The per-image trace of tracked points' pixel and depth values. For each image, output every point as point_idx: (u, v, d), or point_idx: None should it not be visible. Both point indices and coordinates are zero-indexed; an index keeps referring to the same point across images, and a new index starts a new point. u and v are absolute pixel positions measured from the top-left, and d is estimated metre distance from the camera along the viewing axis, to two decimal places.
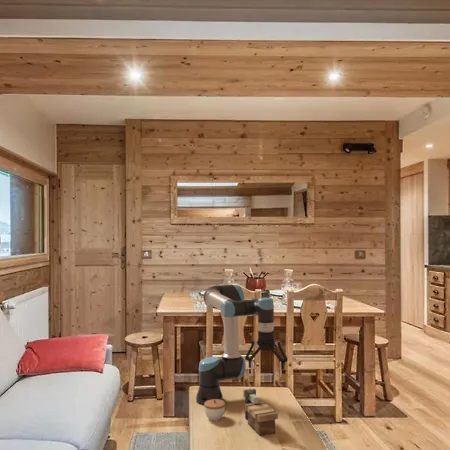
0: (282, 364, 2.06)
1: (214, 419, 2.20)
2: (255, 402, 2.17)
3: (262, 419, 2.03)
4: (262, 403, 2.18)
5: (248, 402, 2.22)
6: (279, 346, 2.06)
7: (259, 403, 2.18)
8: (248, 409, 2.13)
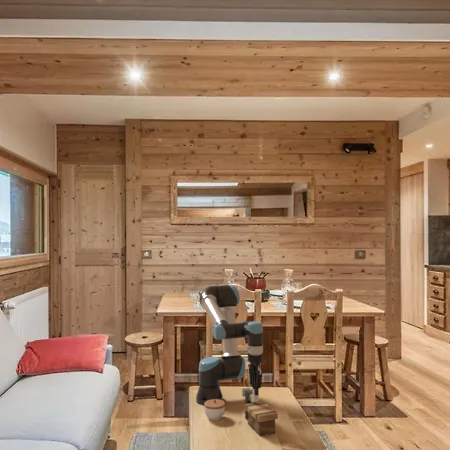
0: (255, 390, 2.16)
1: (214, 419, 2.20)
2: None
3: (262, 419, 2.03)
4: (262, 403, 2.18)
5: (248, 402, 2.22)
6: (257, 374, 2.13)
7: (259, 403, 2.18)
8: (248, 409, 2.13)
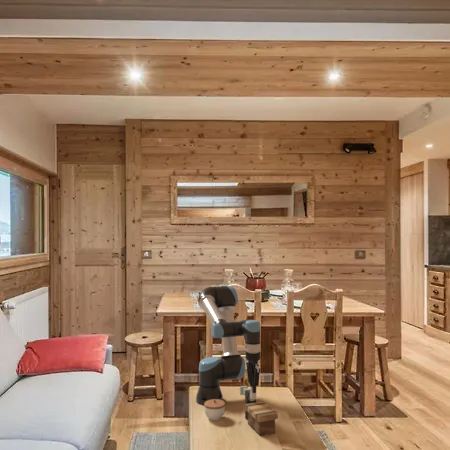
0: (253, 388, 2.19)
1: (214, 419, 2.20)
2: (252, 399, 2.21)
3: (262, 419, 2.03)
4: (262, 403, 2.18)
5: (248, 402, 2.22)
6: (254, 372, 2.15)
7: (259, 403, 2.18)
8: (248, 409, 2.13)
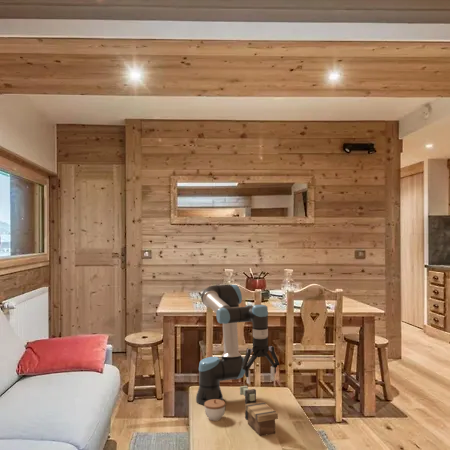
0: (274, 368, 2.14)
1: (214, 419, 2.20)
2: (252, 399, 2.21)
3: (262, 419, 2.03)
4: (262, 403, 2.18)
5: (248, 402, 2.22)
6: (273, 351, 2.13)
7: (259, 403, 2.18)
8: (248, 409, 2.13)
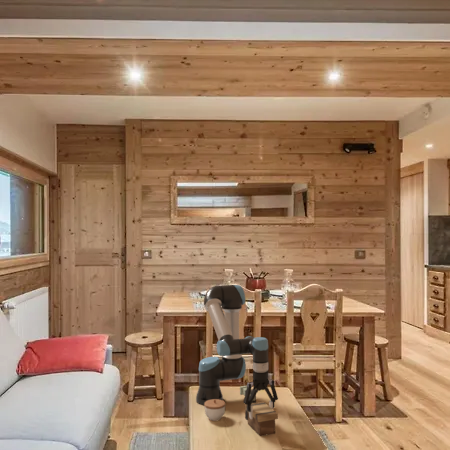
0: (273, 403, 2.13)
1: (214, 419, 2.20)
2: None
3: (262, 419, 2.03)
4: (262, 403, 2.18)
5: None
6: (273, 385, 2.13)
7: (259, 403, 2.18)
8: None
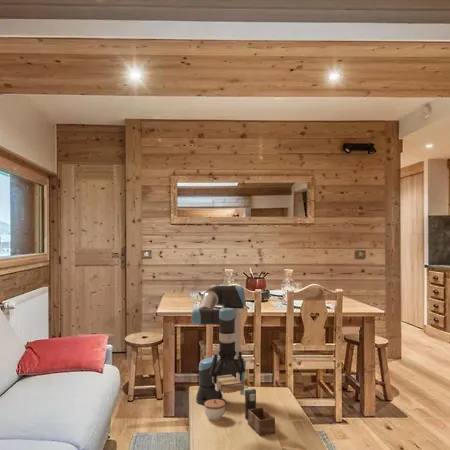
0: (240, 375, 2.08)
1: (214, 419, 2.20)
2: (252, 399, 2.21)
3: (227, 390, 1.98)
4: (230, 376, 2.13)
5: (248, 402, 2.22)
6: (240, 356, 2.08)
7: (227, 376, 2.13)
8: None
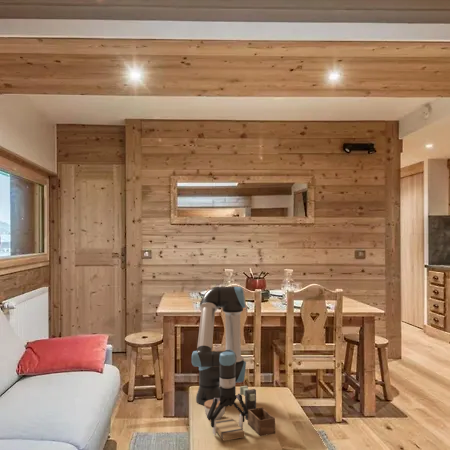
0: (243, 417, 2.08)
1: None
2: (252, 399, 2.21)
3: (228, 437, 1.97)
4: (230, 420, 2.13)
5: (248, 402, 2.22)
6: (241, 399, 2.07)
7: (227, 420, 2.13)
8: None
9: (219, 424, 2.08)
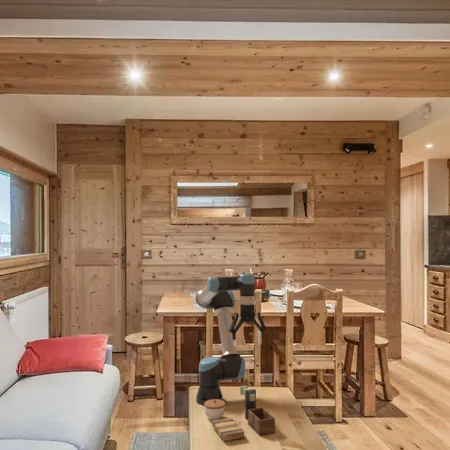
0: (261, 332, 2.29)
1: (214, 419, 2.20)
2: (252, 399, 2.21)
3: (228, 437, 1.97)
4: (230, 420, 2.13)
5: (248, 402, 2.22)
6: (259, 316, 2.28)
7: (227, 420, 2.13)
8: (215, 426, 2.08)
9: (219, 424, 2.08)
